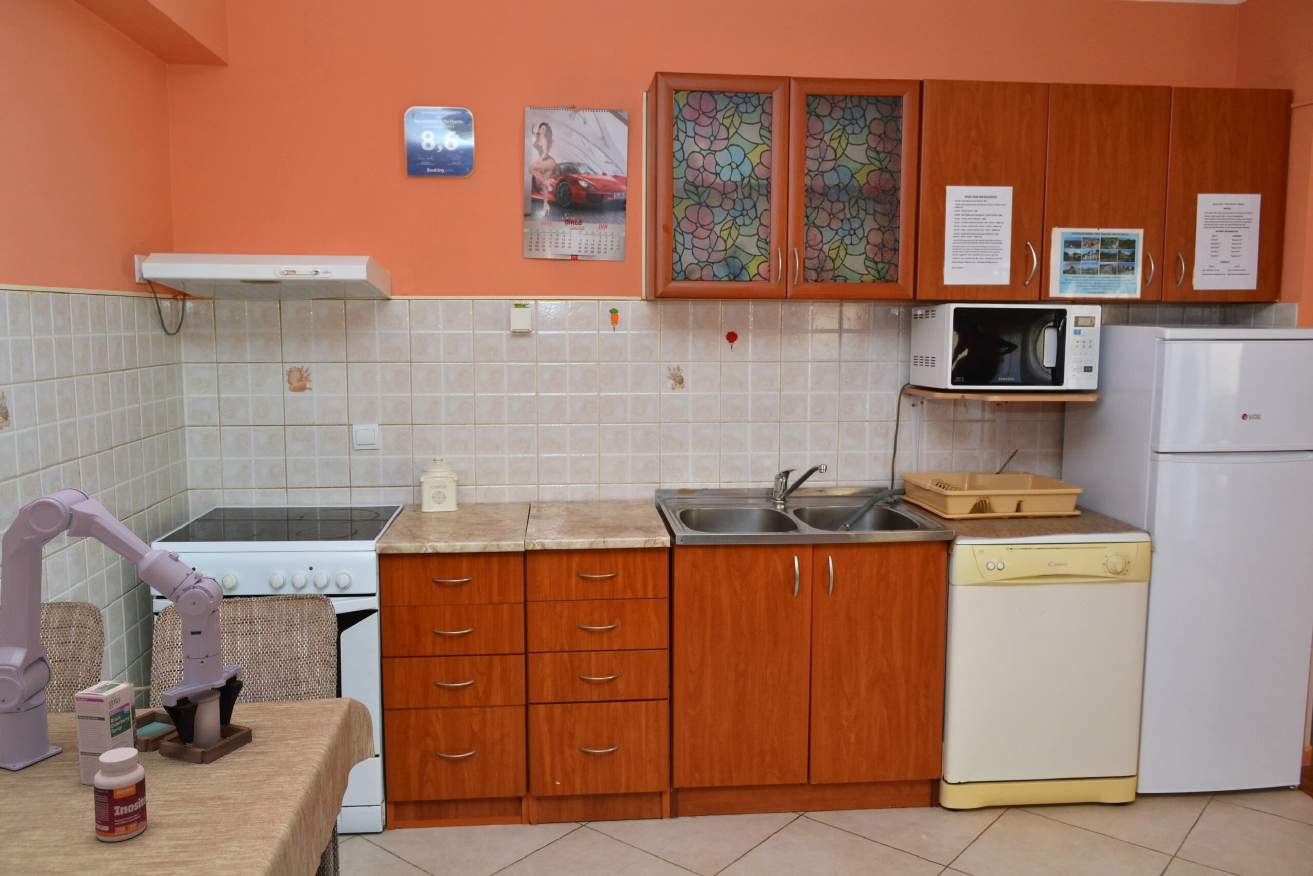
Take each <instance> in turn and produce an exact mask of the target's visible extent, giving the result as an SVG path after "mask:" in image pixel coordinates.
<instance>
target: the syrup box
mask: <svg viewBox="0 0 1313 876" xmlns="http://www.w3.org/2000/svg"><path fill="white" fill-rule="evenodd" d="M73 696H74V697H73V698H74V708H75V709H74V710H75V720H76V721H75V722H76V735H77V748H78V749H77V750H78V759H79V760H78V761H79V775H80V782H81V785H87V786H93V787H94V777H95V775H96V774H97V773H98V772H99V771H100V770H101V769H100V768H99V757H100V756H101V755H102V754H103V753H105V752H107V751H110V750H113V749H117V748H135V749H137V751H138V743H137V727H136V717H137V716H136V701H135V685H134V683H133V682H130V681H129V682H128V681H122V680H102V681H100V682H99V683H96V684H94V685H92V686H89V687H87V688H86V689H83V690H82V691H77V692H76V693H75V694H73ZM138 752H139V751H138ZM138 758H139V755H138ZM138 764H140V758H139V759H138Z"/></svg>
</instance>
